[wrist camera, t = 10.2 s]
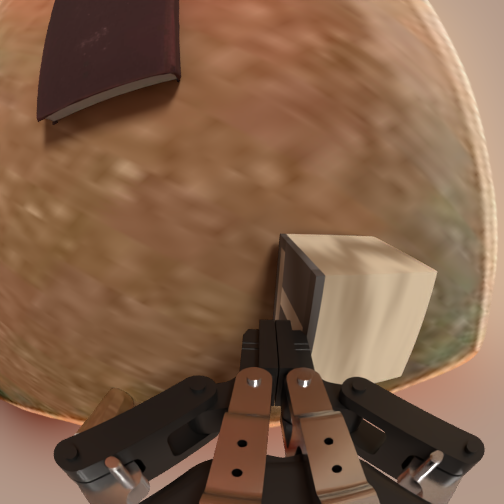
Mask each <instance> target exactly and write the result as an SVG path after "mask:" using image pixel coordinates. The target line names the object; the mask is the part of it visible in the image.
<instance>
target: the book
mask: <svg viewBox="0 0 504 504" xmlns="http://www.w3.org/2000/svg"><path fill="white" fill-rule="evenodd" d="M180 78H181V67H180V47H179V0H55V3H54V6H53V10H52V14H51V19H50V22H49V25H48V30H47V34H46V39H45V44H44V50H43V56H42V62H41V68H40V76H39V85H38V97H37V120H38V122H39V121H41V120H43V119H45V118H46V119H49V120H52V121H53V125H54V124H56V123H58V120H60V119H61V118H63V117H66V116H68V115H70V114H72V113H74V112H77V111H79V110H81V109H84V108H86V107H89V106H91V105H93V104H96V103H98V102H101V101H104V100H106V99H109V98H112V97H115V96H118V95H121V94H124V93H127V92H130V91H133V90H136V89H140V88H143V87H147V86H150V85H154V84H157V83H161V82H165V81H170V80H174V79H177V82H179V81H180Z"/></svg>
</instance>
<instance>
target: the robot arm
mask: <svg viewBox="0 0 504 504" xmlns="http://www.w3.org/2000/svg"><path fill="white" fill-rule="evenodd" d="M274 400H275V406H281V416H280V424H281V429H282V436H283V442H284V448H285V458H280V457H275V456H270V455H266V453H267V442H268V431H269V420H270V411H271V406H274ZM363 418H364V419H366V420H367V421H369V422H370V423H372V424H374V425H375V426H377V427H378V428H380V429H382V430H383V431H384V432H385V433H384V432H382V431H381V430H379V429H377V428H376V427H374V426H372V425H371V424H369V423H368V422H366V421H365V420H363ZM218 434H219V438H218V442H217V445H216V450H215V453H214V457H213V459H211V460H208V461H204V462H202V463H200V464H198V465H196V466H194V467H192V468H191V469H189V470H188V471H187V472H185V473H184V474H183V475H181V476H180V477H178V478H177V479H176V480H174V481H173V482H171V483H170V484H169V485H167V486H165V487H164V488H162V489H161V490H159V491H158V492H156V493H155V494H153V495H151V496H150V497H149V498H147V499H145V500H143V501H142V502H140V500H142V499H143V498H144V497H145V496H146V495H147V494H148V492H149V490H150V485H149V481H150V480H151V479H153V478H155V477H157V476H158V475H160V474H162V473H163V472H165V471H166V470H168V469H170V468H171V467H173V466H174V465H176V464H178V463H179V462H181V461H182V460H184V459H185V458H187V457H188V456H189V455H191V454H193V453H194V452H196V451H197V450H198V449H200V448H201V447H203V446H204V445H205V444H207V443H208V442H209V441H211V440H212V439H214V438H215V437H216V436H217V435H218ZM358 455H359V456H360V457H362V458H363V459H365V460H366V461H368V462H369V463H371V464H372V465H374V466H376V467H377V468H379V469H380V470H382V471H383V472H385V473H387V474H388V475H390V476H392V477H393V478H395V479H397V483H396V482H395V481H393V480H392V479H390V478H389V477H387V476H385V475H384V474H383V473H381V472H380V471H378V470H377V469H375V468H374V467H372V466H371V465H369V464H368V463H366V462H364V461H362V460H360V459H359V458H358ZM483 455H484V444H483V443H482V441H481V440H480V439H479V438H478V437H476V436H474V435H472V434H470V433H468V432H466V431H464V430H461V429H459V428H457V427H455V426H453V425H451V424H449V423H447V422H445V421H443V420H441V419H439V418H437V417H435V416H433V415H432V414H429V413H428V412H426V411H423V410H422V409H420V408H418V407H416V406H414V405H412V404H411V403H409V402H407V401H405V400H403V399H401V398H400V397H397V396H396V395H394V394H392V393H391V392H389V391H387V390H385V389H383V388H382V387H380V386H378V385H376V384H375V383H373V382H371V381H369V380H368V379H366V378H362V377H351V378H348V379H346V380H345V381H344V382H343V384H336V383H331V382H327V381H325V380H323V379H322V378H321V376H320V374H319V373H318V372H316V371H315V369H314V365H313V360H312V356H311V352H310V348H309V344H308V340H307V336H306V335H305V334H304V333H303V332H302V331H301V330H292V326H291V321H290V320H261V319H260V321H259V330H258V329H248V330H247V331H246V333H245V334H244V335H243V344H242V353H241V362H240V371H239V373H238V374H237V376H236V377H235V378H234V379H232V380H230V381H227V382H223V383H217V384H215V382H214V381H213V380H212V379H210V378H208V377H205V376H191V377H188V378H186V379H185V380H183V381H181V382H179V383H178V384H176V385H174V386H172V387H171V388H169V389H167V390H165V391H163V392H162V393H160V394H158V395H156V396H154V397H152V398H150V399H149V400H147V401H145V402H143V403H141V404H139V405H137V406H135V407H133V408H131V409H129V410H127V411H125V412H123V413H121V414H119V415H117V416H115V417H113V418H111V419H109V420H107V421H105V422H103V423H101V424H99V425H96V426H94V427H92V428H90V429H88V430H85V431H83V432H81V433H79V434H76V435H74V436H72V437H69V438H67V439H65V440H62V441H61V442H59V443H58V444H57V446H56V447H55V450H54V459H55V461H56V463H57V464H58V465H59V466H60V467H61V468H62V469H63V470H64V471H65V472H66V473H67V475H68V476H69V477H70V478H71V479H72V480H73V481H74V482H75V483H76V484H77V485H78V486H79V488H80V489H81V491H82V492H83V494H84V496H85V497H86V499H87V500H88V502H89V503H90V504H448V502H449V500H450V498H451V497H452V495H453V493H454V492H455V490H456V488H457V486H458V484H459V482H460V480H461V478H462V477H463V476H464V475H465V474H466V473H467V472H468V471H469V470H470V469H471V468H472V467H473V466H474V465H475V464H477V463H478V462H479V461H480V460H481V458H482V457H483ZM139 502H140V503H139Z"/></svg>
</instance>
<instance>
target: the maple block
mask: <svg viewBox="0 0 504 504" xmlns="http://www.w3.org/2000/svg"><path fill="white" fill-rule="evenodd" d="M436 275H437V271H436V270H434V269H432V268H430V267H429V266H427V265H425V264H423V263H422V262H420V261H418V260H416V259H415V258H413V257H411V256H409V255H407V254H406V253H404V252H402V251H400V250H398V249H396V248H394V247H393V246H391V245H389V244H387V243H385V242H383V241H381V240H379V239H377V238H375V237H371V236H344V235H312V234H280V239H279V252H278V265H277V278H276V289H275V301H274V312H273V320H290V321H291V326H292V330H301V331H302V332H303V333H304V334H305V335H306V336H307V340H308V344H309V348H310V352H311V356H312V360H313V365H314V369H315V371H316V372H318V373H319V374H320V376H321V378H322V379H323V380H325V381H327V382H331V383H336V384H343V382H344V381H345V380H346V379H348V378H351V377H362V378H366V379H368V380H369V381H371V382H373V383H377V382H381V381H385V380H389V379H392V378H396V377H400V376H401V375H402V372H403V370H404V368H405V366H406V363H407V361H408V359H409V356H410V354H411V351H412V349H413V346H414V344H415V341H416V339H417V336H418V333H419V331H420V328H421V325H422V322H423V319H424V316H425V313H426V310H427V307H428V304H429V300H430V297H431V293H432V290H433V286H434V283H435V279H436Z"/></svg>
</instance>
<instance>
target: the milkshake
mask: <svg viewBox="0 0 504 504" xmlns="http://www.w3.org/2000/svg"><path fill="white" fill-rule="evenodd" d="M133 406H134V403H133V399H132V398H131V397H130V396H129V395H128V394H127V393H126V392H124V391H122V390H120V389H117V388H111V389H110V390H109V391H108V392H107V394H106V395H105V396H104V398H103V399H102V400H101V402H100V403H99V404H98V406H97V407H96V408H95V410H94V411H93V412H92V414H91V415H90V416H89V418H88V419H87V420H86V421H85V422H84V424H83V425H82V426H81V427H80V429H79V430H78V431H77V433H76V434H79V433H81V432H83V431H85V430H88V429H90V428H92V427H94V426H96V425H99V424H101V423H103V422H105V421H107V420H109V419H111V418H113V417H115V416H117V415H119V414H121V413H123V412H125V411H127V410H129V409H131V408H133ZM76 434H75V435H76Z"/></svg>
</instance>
